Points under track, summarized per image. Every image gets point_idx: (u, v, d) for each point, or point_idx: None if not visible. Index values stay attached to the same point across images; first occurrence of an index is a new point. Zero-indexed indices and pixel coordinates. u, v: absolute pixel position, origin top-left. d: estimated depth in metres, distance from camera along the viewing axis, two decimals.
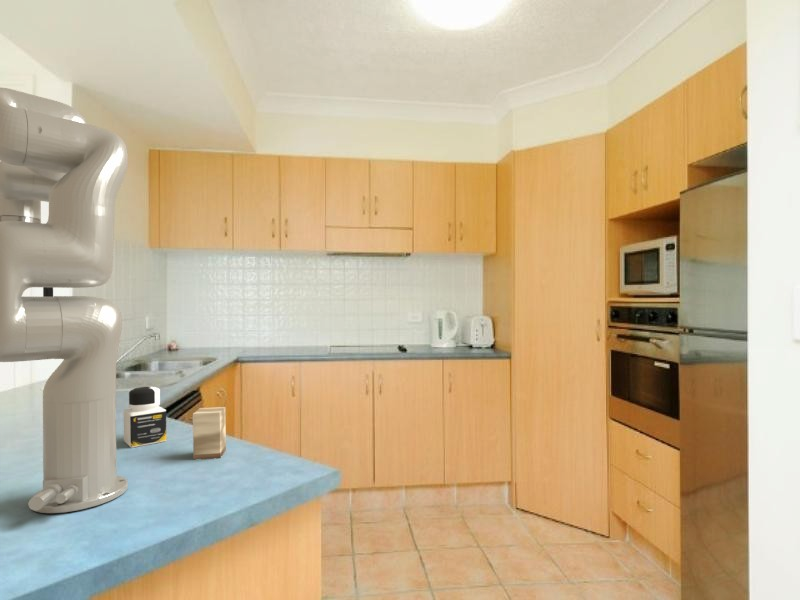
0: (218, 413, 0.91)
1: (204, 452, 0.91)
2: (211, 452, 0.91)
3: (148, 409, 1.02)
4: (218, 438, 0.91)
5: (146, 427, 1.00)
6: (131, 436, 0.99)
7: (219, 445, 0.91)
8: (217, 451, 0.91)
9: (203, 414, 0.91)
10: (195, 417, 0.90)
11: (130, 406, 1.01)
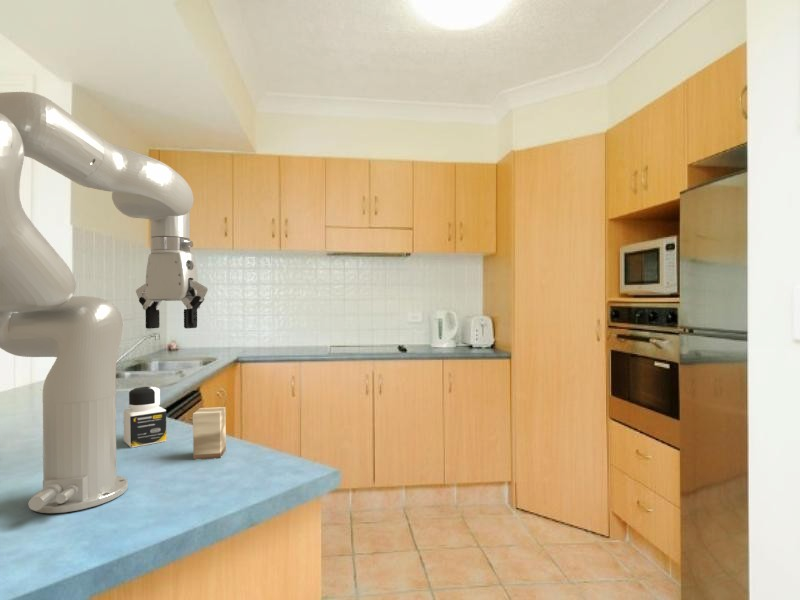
0: (218, 413, 0.91)
1: (204, 452, 0.91)
2: (211, 452, 0.91)
3: (148, 409, 1.02)
4: (218, 438, 0.91)
5: (146, 427, 1.00)
6: (131, 436, 0.99)
7: (219, 445, 0.91)
8: (217, 451, 0.91)
9: (203, 414, 0.91)
10: (195, 417, 0.90)
11: (130, 406, 1.01)
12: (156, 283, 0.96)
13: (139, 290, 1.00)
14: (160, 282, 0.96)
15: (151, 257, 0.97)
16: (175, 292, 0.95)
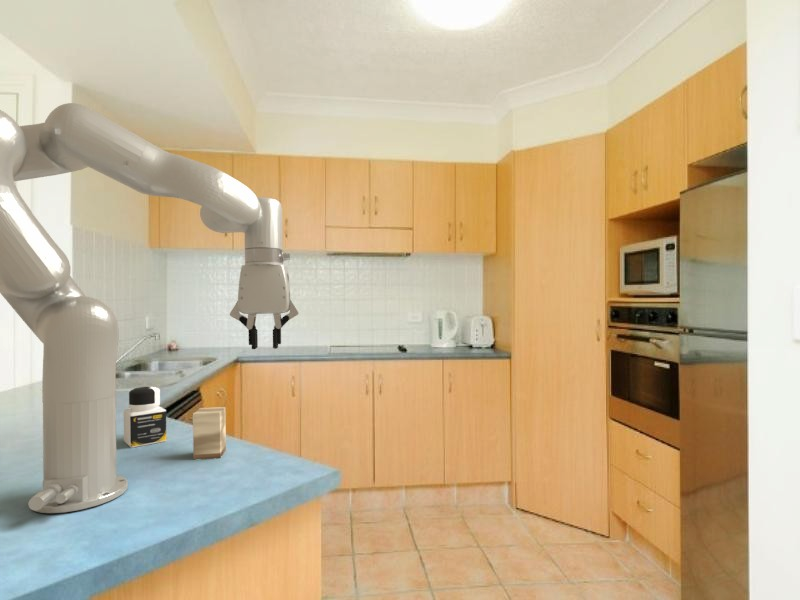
0: (218, 413, 0.91)
1: (204, 452, 0.91)
2: (211, 452, 0.91)
3: (148, 409, 1.02)
4: (218, 438, 0.91)
5: (146, 427, 1.00)
6: (131, 436, 0.99)
7: (219, 445, 0.91)
8: (217, 451, 0.91)
9: (203, 414, 0.91)
10: (195, 417, 0.90)
11: (130, 406, 1.01)
12: (254, 296, 0.93)
13: (233, 312, 0.94)
14: (260, 295, 0.93)
15: (247, 268, 0.93)
16: (278, 305, 0.94)
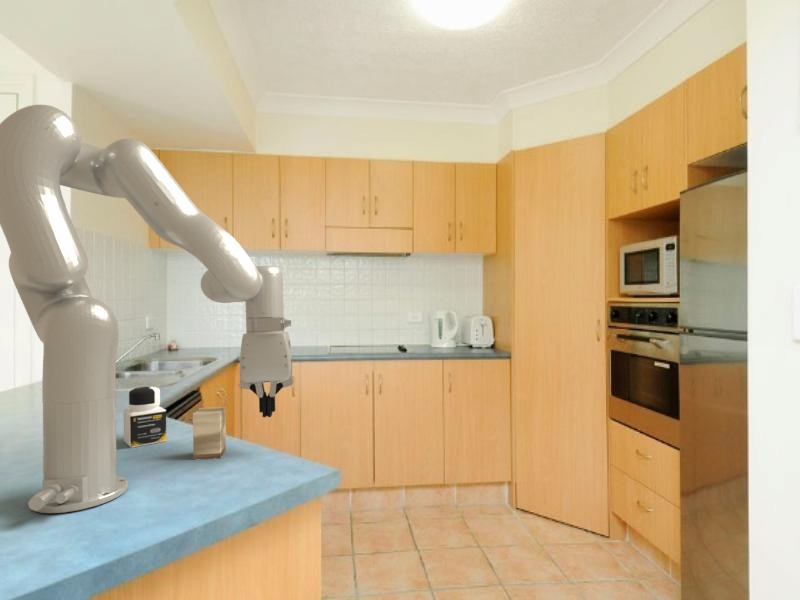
0: (218, 413, 0.91)
1: (204, 452, 0.91)
2: (211, 452, 0.91)
3: (148, 409, 1.02)
4: (218, 438, 0.91)
5: (146, 427, 1.00)
6: (131, 436, 0.99)
7: (219, 445, 0.91)
8: (217, 451, 0.91)
9: (203, 414, 0.91)
10: (195, 417, 0.90)
11: (130, 406, 1.01)
12: (256, 365, 0.93)
13: (242, 383, 0.94)
14: (262, 364, 0.93)
15: (249, 338, 0.93)
16: (280, 374, 0.94)
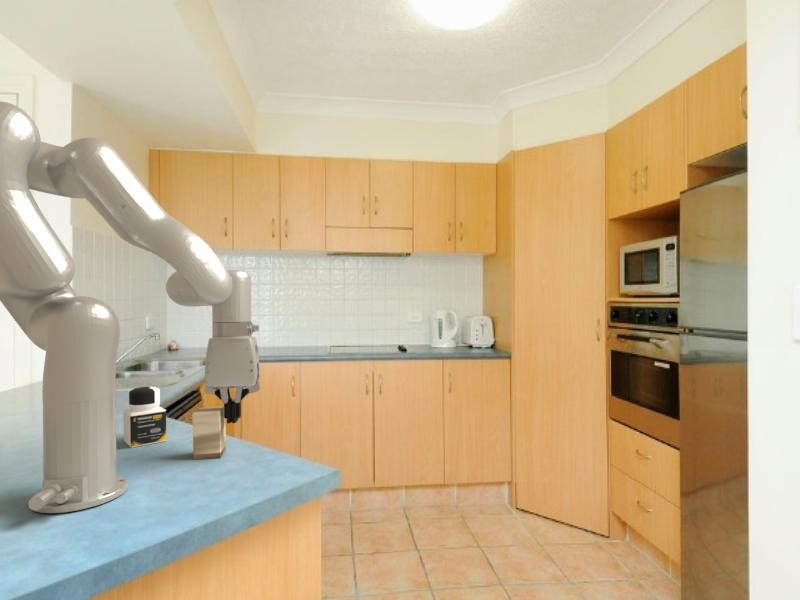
0: (218, 413, 0.91)
1: (204, 452, 0.91)
2: (211, 452, 0.91)
3: (148, 409, 1.02)
4: (218, 438, 0.91)
5: (146, 427, 1.00)
6: (131, 436, 0.99)
7: (219, 445, 0.91)
8: (217, 451, 0.91)
9: (203, 414, 0.91)
10: (195, 417, 0.90)
11: (130, 406, 1.01)
12: (221, 370, 0.91)
13: (207, 388, 0.93)
14: (227, 369, 0.92)
15: (214, 342, 0.91)
16: (245, 379, 0.92)
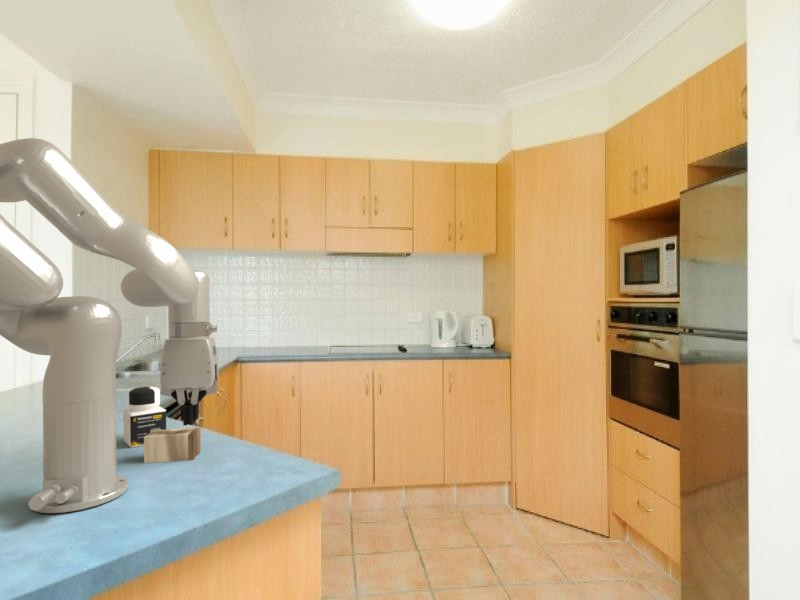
0: (145, 438, 0.89)
1: (186, 449, 0.90)
2: (186, 443, 0.90)
3: (148, 409, 1.02)
4: (172, 436, 0.90)
5: (146, 427, 1.00)
6: (131, 436, 0.99)
7: (180, 435, 0.90)
8: (186, 437, 0.90)
9: (145, 452, 0.89)
10: (148, 460, 0.89)
11: (130, 406, 1.01)
12: (177, 371, 0.90)
13: (163, 390, 0.91)
14: (183, 371, 0.90)
15: (170, 343, 0.90)
16: (202, 381, 0.91)
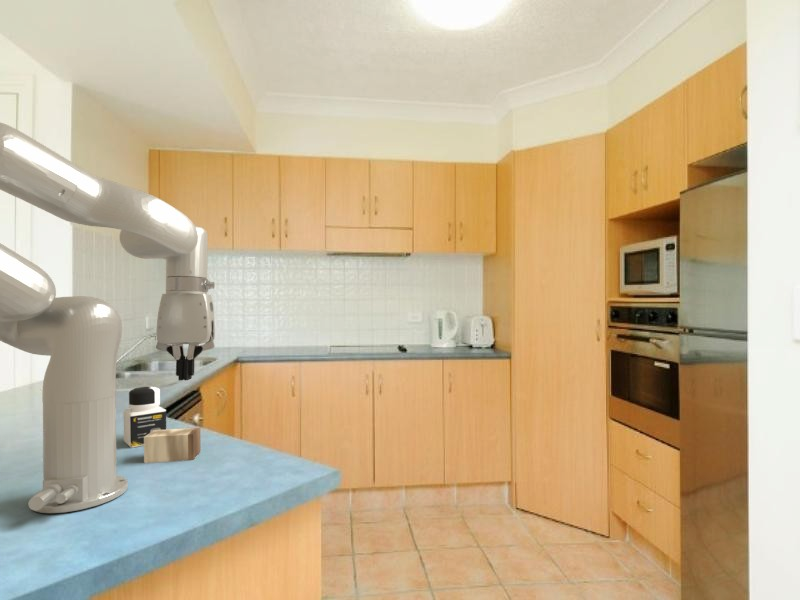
0: (145, 438, 0.89)
1: (186, 449, 0.90)
2: (186, 443, 0.90)
3: (148, 409, 1.02)
4: (172, 437, 0.90)
5: (146, 427, 1.00)
6: (131, 436, 0.99)
7: (179, 435, 0.90)
8: (186, 437, 0.90)
9: (145, 452, 0.89)
10: (148, 460, 0.89)
11: (130, 406, 1.01)
12: (174, 325, 0.90)
13: (159, 344, 0.91)
14: (179, 325, 0.90)
15: (167, 297, 0.90)
16: (198, 335, 0.91)
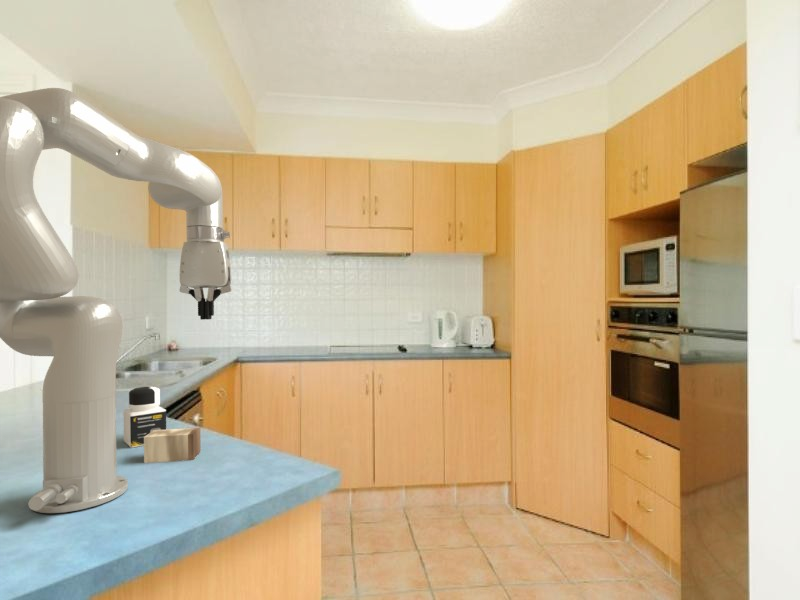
0: (145, 438, 0.89)
1: (186, 449, 0.90)
2: (186, 443, 0.90)
3: (148, 409, 1.02)
4: (172, 437, 0.90)
5: (146, 427, 1.00)
6: (131, 436, 0.99)
7: (179, 435, 0.90)
8: (186, 437, 0.90)
9: (145, 452, 0.89)
10: (148, 460, 0.89)
11: (130, 406, 1.01)
12: (195, 270, 1.00)
13: (182, 287, 1.02)
14: (200, 269, 1.01)
15: (188, 245, 1.00)
16: (217, 279, 1.01)
